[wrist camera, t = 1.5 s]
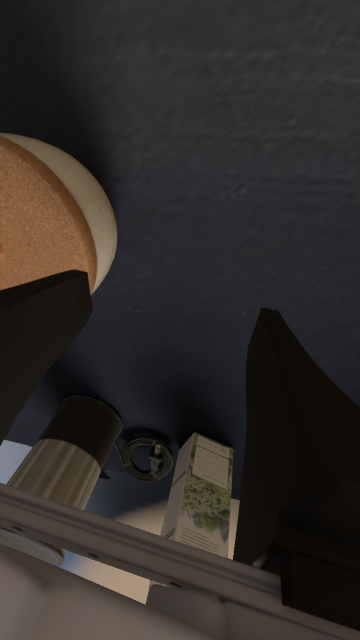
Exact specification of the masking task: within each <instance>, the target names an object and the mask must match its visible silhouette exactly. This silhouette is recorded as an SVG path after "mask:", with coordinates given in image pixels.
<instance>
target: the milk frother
mask: <svg viewBox="0 0 360 640" xmlns="http://www.w3.org/2000/svg"><path fill="white" fill-rule="evenodd" d="M122 429H123V424H122V421H121V419H120V417H119V416H118V415H117V413H116V412H115V411H114V410H113V409H112V408H110V407H109V406H108V405H106V404H105V403H103V402H101V401H99V400H97V399H94V398H91V397H88V396H82V395H73V396H69V397H67V398H65V399H64V400H63V401H62V402H61V404H60V408H59V410H58V412H57V413H56V415H55V416H54V418H53V419H52V421H51V422H50V424H49V425H48V427H47V428H46V430H45V431H44V432H43V434H42V435H41V437H40V438H39V439H38V441H37V442H36V444H35V445H34V447H33V448H32V449H31V451H30V452H29V453H28V455H27V456H26V457H25V459H24V460H23V462H22V463H21V465H20V466H19V467H18V469H17V470H16V472H15V473H14V474H13V476H12V477H11V479H10V480H9V481H8V483H7V484H6V485H8V486H11V487H14V488H17V489H20V490H23V491H26V492H29V493H32V494H35V495H38V496H41V497H44V498H47V499H50V500H53V501H56V502H59V503H62V504H65V505H68V506H71V507H74V508H78V509H81V510H84V509H85V506H86V504H87V502H88V500H89V497H90V495H91V493H92V491H93V488H94V486H95V484H96V481H97V479H98V477H99V474H100V472H101V470H102V468H103V465H104V463H105V461H106V459H107V457H108V455H109V453H110V451H111V449H112V447H113V445H115V447H116V449H117V451H118V454H119V457H120V460H121V462H122V464H123V466H124V467H125V469H126V471H127V472H128V473H129V475H131V476H132V477H133V478H135V479H136V480H138V481H141V482H154V481H157V480H159V479H162V478H163V477H164V476H165V475H167V474H168V473H169V471H170V470H171V468H172V465H173V453H172V451H171V449H170V447H169V446H168V445H167V444H166V443H165V442H164V441H162V440H160V439H158V438H156V437H153V436H150V435H138V436H135V437H133V438H131V439H130V440H129V441H128V442H127V443H126V445H125V447H124V449H123V455H122V453H121V451H120V449H119V447H118V444H117V442H116V439H117V437H118V435H120V434H121V432H122ZM142 444H146V445H151V446H153V447H152V450H151V451H150V453H149V455H148V456H149V458H151V460H150V463H151V464H150V467H151V470H146V471H145V470H142V469H140V468H138V467H137V466H136V465H135V464H134V462H133V460H132V458H131V451H132V449H133V448H134V447H136V446H138V445H142ZM163 457H164V462H163V465H162V467H160V466H161V464H162V462H161V461H162V459H163ZM0 543H1V544H4V545H6V546H9V547H11V548H14V549H16V550H19V551H21V552H24V553H26V554H29V555H31V556H33V557H36V558H38V559H40V560H43V561H45V562H48V563H50V564H52V565H55V566H61V565H63V564H64V562H65V560H64V554H65V551H66V550H65V549H62V548H59V547H56V546H54V545H51V544H48V543H45V542H42V541H40V540H37V539H34V538H31V537H28V536H25V535H23V534H20V533H17V532H14V531H11V530H9V529H6V528H3V527H0Z"/></svg>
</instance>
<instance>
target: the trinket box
mask: <svg viewBox="0 0 360 640" xmlns="http://www.w3.org/2000/svg"><path fill="white" fill-rule="evenodd" d="M116 245H117V227H116V220H115V216H114V212H113V209H112V206H111V204H110V201H109V199H108V197H107V195H106V193H105V192H104V190H103V188H102V187H101V185H100V184H99V182H98V181H97V180H96V178H95V177H94V176H93V175H92V174H91V173H90V172H89V170H88V169H87V168H86V167H85V166H83V165H82V164H81V163H80V162H79V161H77V160H76V159H75V158H73V157H72V156H71V155H69V154H68V153H66V152H64V151H63V150H61V149H60V148H57V147H55V146H53V145H50V144H48V143H46V142H43V141H40V140H38V139H34V138H30V137H26V136H21V135H16V134H11V133H0V290H3V289H6V288H10V287H13V286H17V285H20V284H24V283H27V282H30V281H34V280H37V279H40V278H43V277H47V276H50V275H53V274H56V273H60V272H64V271H68V270H73V269H76V270H81V271H85V272H88V279H89V287H90V295H91V294H92V293H93V292H94V291H95V290H96V289H97V288H98V287H99V285H100V284H101V282H102V280H103V279H104V277H105V276H106V274H107V273H108V271H109V269H110V266H111V264H112V261H113V259H114V256H115V251H116Z"/></svg>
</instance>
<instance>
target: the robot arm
mask: <svg viewBox="0 0 360 640" xmlns="http://www.w3.org/2000/svg"><path fill="white" fill-rule="evenodd" d="M92 312H93V310H92V302H91V295H90V287H89V279H88V272H85V271H81V270H76V269H73V270H68V271H64V272H60V273H56V274H53V275H50V276H47V277H43V278H40V279H37V280H34V281H30V282H27V283H24V284H20V285H17V286H13V287H10V288H6V289H3V290H0V446H1V444H2V442H3V440H4V438H5V437H6V435H7V433H8V431H9V430H10V428H11V426H12V425H13V423H14V421H15V419H16V418H17V416H18V414H19V413H20V411H21V410H22V408H23V406H24V405H25V403H26V402H27V400H28V398H29V397H30V395H31V394H32V392H33V391H34V389H35V388H36V386H37V385H38V383H39V382H40V381H41V379H42V378H43V376H44V375H45V374H46V372H47V371H48V370H49V368H50V367H51V366H52V365H53V364H54V363H55V361H56V360H57V359H58V358H59V357H60V355H61V354H62V353H63V352H64V351H65V350H66V348H67V347H68V346H69V345H70V344H71V343H72V341H73V340H74V339H75V338H76V337H77V335H78V334H79V333H80V332H81V330H82V329H83V327H84V326H85V324H86V323H87V321H88V319H89V318H90V316H91V314H92ZM246 403H247V432H246V444H245V456H244V466H243V477H242V487H241V496H240V505H239V514H238V523H237V531H236V539H235V547H234V555H233V560H231V559H228V558H225V557H222V556H219V555H216V554H213V553H210V552H207V551H204V550H201V549H198V548H195V547H192V546H189V545H186V544H183V543H180V542H177V541H174V540H171V539H168V538H165V537H162V536H159V535H156V534H153V533H150V532H147V531H144V530H141V529H138V528H135V527H132V526H129V525H125V524H123V523H120V522H117V521H114V520H111V519H108V518H104V517H102V516H99V515H96V514H93V513H90V512H87V511H84V510H81V509H78V508H74V507H71V506H68V505H65V504H62V503H59V502H56V501H53V500H50V499H47V498H44V497H41V496H38V495H35V494H32V493H29V492H26V491H23V490H20V489H17V488H14V487H11V486H8V485H5V484H2V483H0V527H3V528H6V529H9V530H11V531H14V532H17V533H20V534H23V535H25V536H28V537H31V538H34V539H37V540H40V541H42V542H45V543H48V544H51V545H54V546H56V547H59V548H62V549H65V550H68V551H70V552H73V553H76V554H79V555H82V556H84V557H88V558H90V559H93V560H96V561H99V562H101V563H104V564H107V565H110V566H113V567H115V568H118V569H121V570H124V571H127V572H130V573H132V574H135V575H138V576H141V577H144V578H146V579H149V580H152V581H155V582H157V583H160V584H163V585H158V584H153V585H152V586H151V587H150V588H149V592H148V597H147V601H146V605H145V604H142V603H140V602H138V601H136V600H133V599H131V598H129V597H126V596H124V595H122V594H119V593H117V592H115V591H113V590H110V589H108V588H105V587H103V586H101V585H99V584H96V583H94V582H92V581H89V580H87V579H85V578H83V577H80V576H78V575H76V574H73V573H71V572H69V571H66V570H64V569H61V568H59V567H57V566H55V565H52V564H50V563H48V562H45V561H43V560H40V559H38V558H36V557H33V556H31V555H29V554H26V553H24V552H21V551H19V550H16V549H14V548H11V547H9V546H6V545H4V544H1V543H0V640H360V407H359V406H358V405H357V404H356V403H355V402H353V401H352V400H351V399H350V398H349V397H348V396H347V395H346V394H345V393H344V392H343V391H342V390H340V389H339V388H338V386H337V385H336V384H335V383H334V382H333V381H332V380H331V379H330V378H329V377H328V376H327V375H326V374H325V373H324V372H323V371H322V370H321V369H320V368H319V366H318V365H317V364H316V363H315V362H314V360H313V359H312V358H311V357H310V356H309V354H308V353H307V352H306V351H305V349H304V348H303V347H302V345H301V344H300V343H299V341H298V340H297V338H296V337H295V336H294V334H293V333H292V331H291V330H290V328H289V327H288V325H287V324H286V322H285V321H284V319H283V318H282V316H281V315H280V313H279V312H278V311H277V310H272V309H267V308H262V307H261V310H260V313H259V316H258V319H257V322H256V325H255V328H254V331H253V334H252V337H251V340H250V343H249V346H248V353H247V362H246ZM164 585H166V586H164Z"/></svg>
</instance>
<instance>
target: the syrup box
mask: <svg viewBox="0 0 360 640" xmlns="http://www.w3.org/2000/svg"><path fill="white" fill-rule="evenodd" d="M232 462H233V449H232V448H230V447H228V446H226V445H223V444H221V443H219V442H217V441H214V440H212V439H210V438H207V437H205V436H203V435H200V434H198V433H196V432H194V433H193V434H192V436H191V437H190V438H189V439H188V440H187V441H186V443H185V444H184V445H183V446H182V447H181V449H180V450H179V453H178V458H177V463H176V469H175V473H174V478H173V483H172V487H171V492H170V496H169V501H168V505H167V509H166V513H165V518H164V522H163V526H162V531H161V535H160V536H162V537H165V538H168V539H171V540H174V541H177V542H180V543H183V544H186V545H189V546H192V547H195V548H198V549H201V550H204V551H207V552H210V553H213V554H216V555H219V556H222V557H225V558H228V541H229V522H230V502H231V483H232ZM153 584H158V585H163V584H160V583H157V582H155V581H152V580H150V584H149V588H150V587H151V586H152V585H153ZM164 586H166V585H164Z"/></svg>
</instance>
